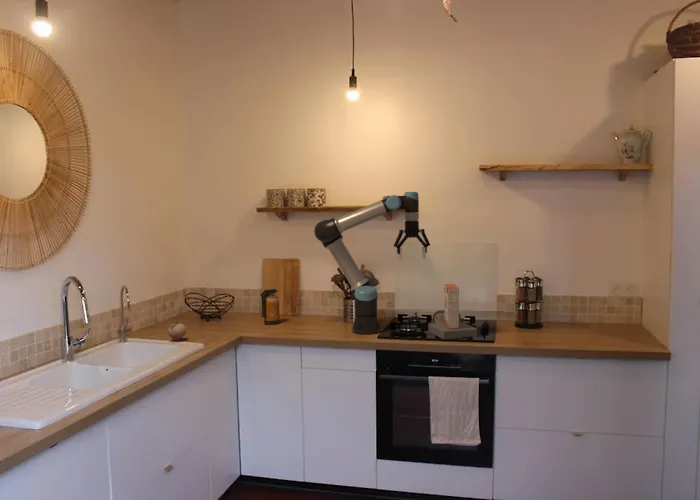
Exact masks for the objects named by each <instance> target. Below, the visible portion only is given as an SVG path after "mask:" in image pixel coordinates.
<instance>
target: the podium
mask: <svg viewBox="0 0 700 500" xmlns="http://www.w3.org/2000/svg"><path fill="white" fill-rule="evenodd" d="M427 329H428V332H429V333H431V334H433V335H434V336H436V337H439V338H440V339H442V340H453V339H454V340H455V339H464V338H463V337H468V338H477V337H478V328H476V327H474V326H472V325H470V324H467V323H465V322H462V321H461V320H460V321H459V329H448V328H447V326H446V324H445V322H444V323H435V322H434V323H428V328H427ZM470 336H471V337H470Z"/></svg>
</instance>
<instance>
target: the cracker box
mask: <svg viewBox="0 0 700 500" xmlns="http://www.w3.org/2000/svg"><path fill="white" fill-rule="evenodd" d="M443 291H444V293H443V295H444V300H443V301H444V310H445V324H446V326H447V328H448V329H459V314H460V305H459V304H460V303H459V300H460V298H459V297H460V295H459V291H460V290H459V287H458V286H457V285H456V284H454V283H451V284H450V283H445V284H443Z"/></svg>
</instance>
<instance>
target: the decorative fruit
mask: <svg viewBox="0 0 700 500" xmlns="http://www.w3.org/2000/svg"><path fill="white" fill-rule="evenodd" d="M175 322H176V323H172V324H171V325H170V326H169V327H168V329H167V333H168V336H169V337H170V338H171V339H172V340H174V341H176V340H178V341H180V340H181V339H182V338H184V337H185V336H186V334H187V327H186V326H185V325H184V324H183V323H182V322H178V321H175Z"/></svg>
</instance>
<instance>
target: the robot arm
mask: <svg viewBox="0 0 700 500" xmlns="http://www.w3.org/2000/svg"><path fill="white" fill-rule="evenodd" d="M419 201H420V199H419V193H418V191H405V192H404V195H393V194H392V195H384V196H383V197H382V199H381V200H379V201H376V202H373V203H371V204H369V205H366V206H364V207H361V208H359V209H356V210H353V211H352V212H349V213H346V214H345V215H342V216H340V217H332V218H330V219H329V218H328V219H322V220H320V221H319V222H318V223H316V225H315V226H314V231H313V232H314V236H315V238H316V239H317V240H318V241H320V243H321V245H322V246H323V247H324V249H327V250H329V252H330V253H331V255H332V258H334V260H335V262H336V264H337V265H338V266H339V269H340V270H341V272H342V274H343V275H344V277H345V278H346V280H347V282H348V284H349V285H350V286H351V287H350V292H351V294H352V295H353V297H354V311H355V312H354V321H353V324H352V326H351V329H352V330H351V332H352V333H353V334H358V335H374V334H375V335H376V334H379V333H381V331H382V330H381V329H382V328H381V325H380V321H379V318H378V297H379V294H378V289H377V288H376V287H374V286H373V284H372V282H371V281H370V280H369V278H365V276H364V275H363V273H362V271H361V270H360V269H359V267H358V265H357V263H356V262H355V260H354V258H353V257H352V255H351V253H350V252H349V249H348V248H347V246H346V245H345V243H344V241H343V239H344V236H343V235H342V234H343V233H344V232H346V231H347V230H348V231H349V230H351V229H352V228H354V227H357V226H359V225H362V224H365V223H367V222H369V221H372V220H374V219H376V218H379V217H382V216H383V215H386V214H389V213H391V212H393V211H397V210H398V211H399V210H404V220H405V221H404V229H399V230H398V234H397V237H396V239H395V242H394V244H393V247H395V248H396V253H397V255H398V260H399V261H402V260H403V252H402V251H403V248H402V246H403V244H404V243H405V242H406V240H407V239H410V238H411V239H412V238H413V239H414V238H416V239H417V240H418V241H419V243H420V244H421V245H422V246H421V247H422V248H421V249H422V251H421V254H422V255H421V257H422V260H425V259H426V254H427V252H428V247H429V246H431V243H430V240H429V239H428V237H427V235H426V232H425V230H426V229H424V228H421V229H420V228H419V227H420V225H419V224H420V222H419V219H420V218H419V215H420V214H419V212H420V211H419V210H420V208H419V205H420V204H419ZM419 233H420V234H421V236H422V237H421V236H420V234H419ZM403 235H404V236H403ZM402 237H403V238H402ZM422 238H423V239H422Z"/></svg>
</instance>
